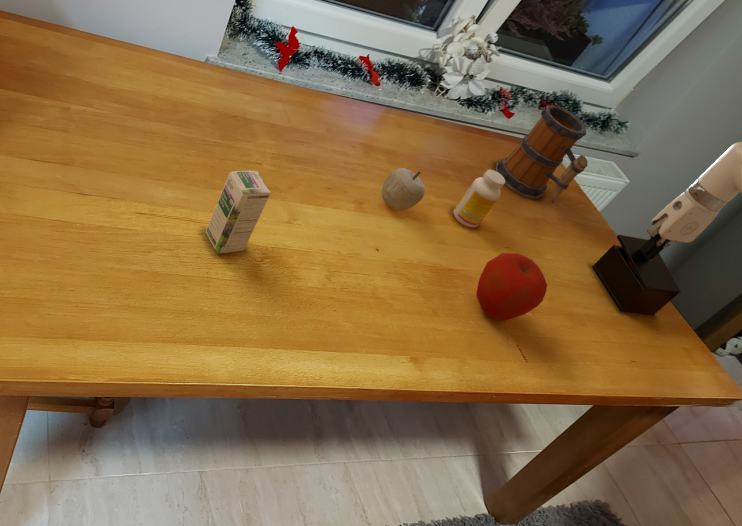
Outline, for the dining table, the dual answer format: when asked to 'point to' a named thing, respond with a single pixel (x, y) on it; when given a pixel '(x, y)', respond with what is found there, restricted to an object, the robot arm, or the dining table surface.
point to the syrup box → (237, 211)
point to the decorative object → (402, 189)
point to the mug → (545, 155)
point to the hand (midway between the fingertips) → (645, 254)
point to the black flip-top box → (628, 284)
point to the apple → (510, 286)
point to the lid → (648, 266)
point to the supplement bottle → (479, 199)
